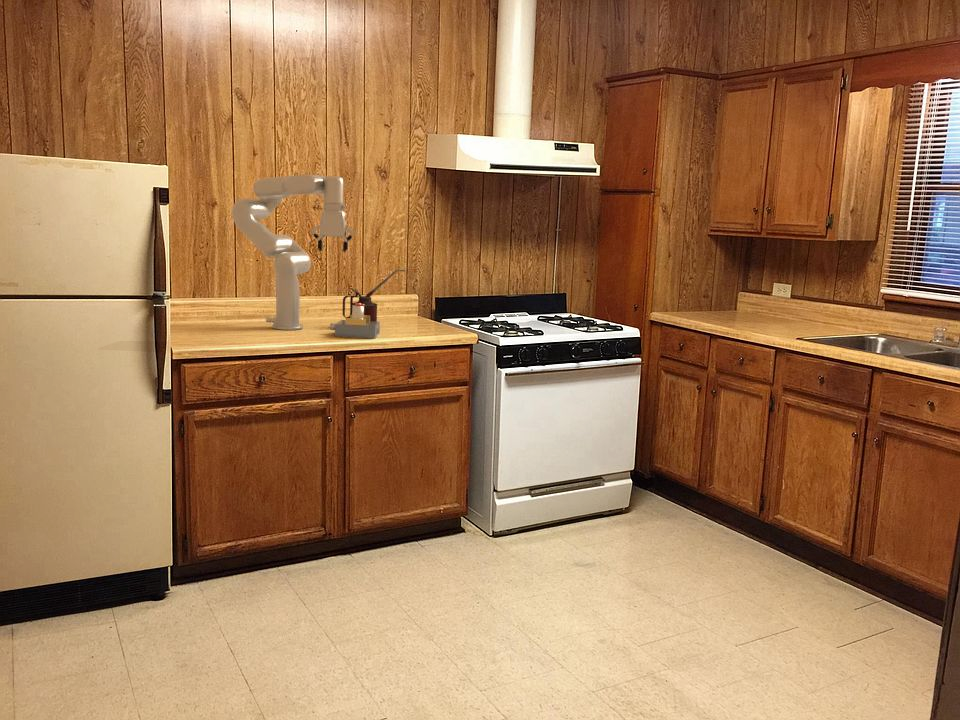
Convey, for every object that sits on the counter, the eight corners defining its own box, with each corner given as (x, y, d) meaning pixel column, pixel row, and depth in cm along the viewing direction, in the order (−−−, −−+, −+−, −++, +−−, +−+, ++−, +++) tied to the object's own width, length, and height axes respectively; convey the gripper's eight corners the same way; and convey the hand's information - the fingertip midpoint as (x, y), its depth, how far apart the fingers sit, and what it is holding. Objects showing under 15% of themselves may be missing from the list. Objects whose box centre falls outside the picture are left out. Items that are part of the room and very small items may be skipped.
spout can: (352, 331, 343) (353, 302, 341) (364, 332, 343) (365, 303, 341) (350, 333, 339) (351, 303, 336) (362, 334, 338) (363, 304, 336)
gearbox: (327, 336, 335) (327, 317, 333) (333, 331, 348) (334, 313, 346) (375, 338, 335) (375, 319, 333) (379, 333, 347) (379, 315, 346)
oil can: (347, 329, 355) (348, 270, 351) (339, 325, 365) (340, 268, 361) (408, 327, 368) (410, 270, 364) (399, 324, 378) (401, 268, 373)
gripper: (356, 209, 338) (355, 251, 341) (313, 207, 338) (313, 249, 341) (353, 209, 330) (352, 252, 333) (309, 207, 330) (309, 250, 334)
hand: (332, 251), depth 337 cm, fingers open, 9 cm apart
